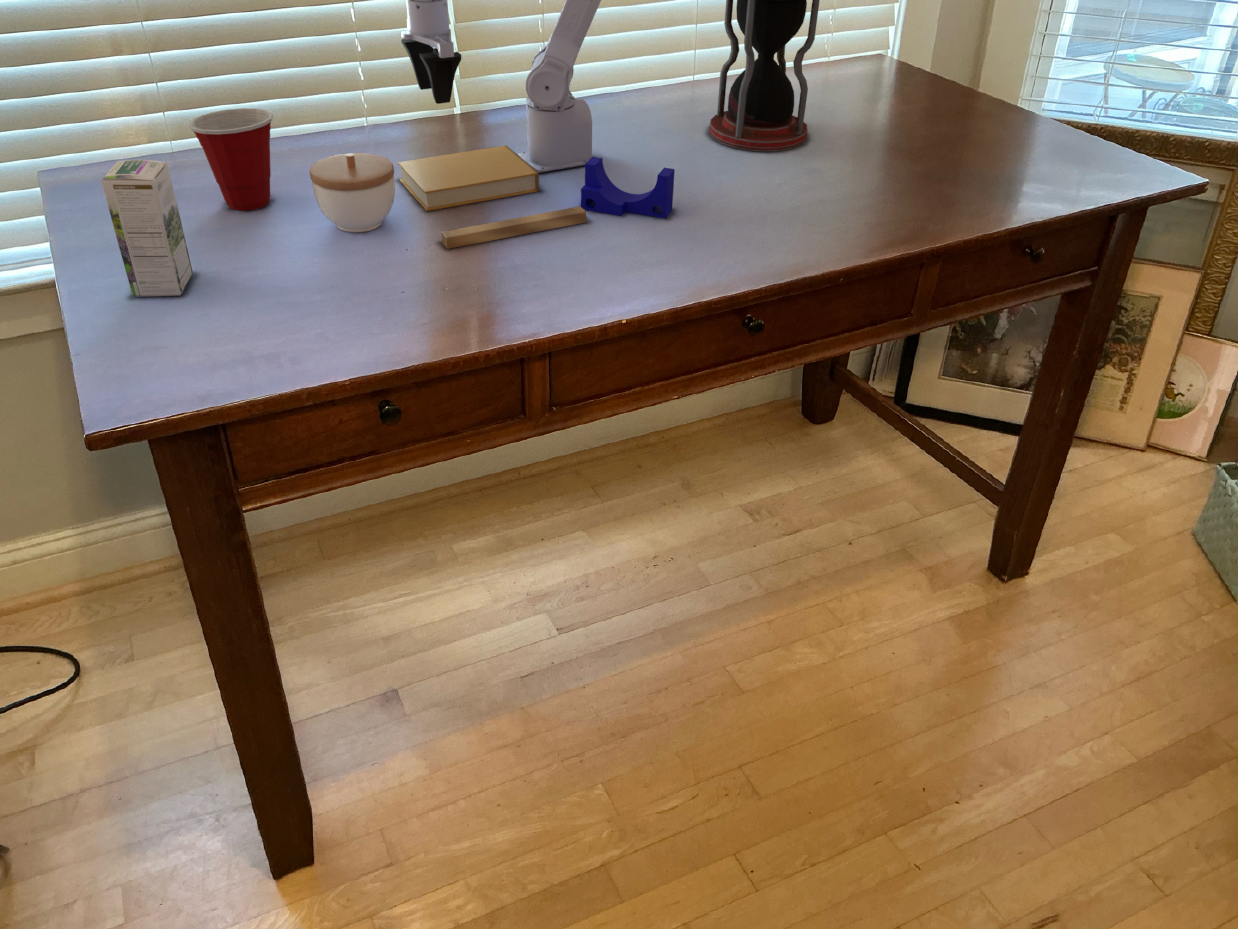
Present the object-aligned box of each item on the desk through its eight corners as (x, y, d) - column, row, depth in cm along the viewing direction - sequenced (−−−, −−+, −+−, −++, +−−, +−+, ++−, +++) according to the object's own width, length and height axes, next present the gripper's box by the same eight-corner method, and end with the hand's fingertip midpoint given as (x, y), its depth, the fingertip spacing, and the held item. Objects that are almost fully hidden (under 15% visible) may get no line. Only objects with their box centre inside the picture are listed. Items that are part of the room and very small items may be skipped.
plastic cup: (263, 181, 149) (247, 97, 142) (303, 203, 143) (288, 117, 136) (192, 200, 143) (172, 114, 136) (230, 225, 137) (211, 136, 129)
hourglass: (822, 130, 172) (846, -32, 156) (780, 159, 161) (801, -13, 145) (736, 111, 178) (751, -47, 163) (691, 138, 167) (702, -29, 152)
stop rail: (580, 216, 142) (580, 205, 141) (586, 222, 140) (586, 211, 139) (442, 242, 134) (441, 231, 133) (447, 249, 133) (446, 237, 132)
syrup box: (146, 275, 125) (113, 159, 116) (195, 274, 125) (167, 158, 117) (132, 297, 120) (97, 178, 112) (184, 296, 121) (153, 178, 112)
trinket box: (381, 243, 133) (372, 174, 128) (304, 234, 135) (292, 165, 129) (411, 211, 142) (404, 144, 136) (338, 203, 143) (328, 136, 138)
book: (507, 163, 157) (506, 145, 155) (539, 191, 148) (538, 172, 147) (399, 180, 150) (397, 161, 149) (426, 211, 142) (424, 191, 140)
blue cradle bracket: (580, 209, 144) (581, 167, 140) (592, 197, 147) (592, 156, 144) (662, 222, 141) (664, 180, 137) (672, 210, 144) (674, 168, 141)
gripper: (383, -12, 148) (393, 84, 156) (415, 12, 138) (424, 113, 146) (430, -17, 150) (437, 78, 159) (465, 7, 140) (471, 107, 148)
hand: (434, 95), depth 152 cm, fingers open, 6 cm apart
